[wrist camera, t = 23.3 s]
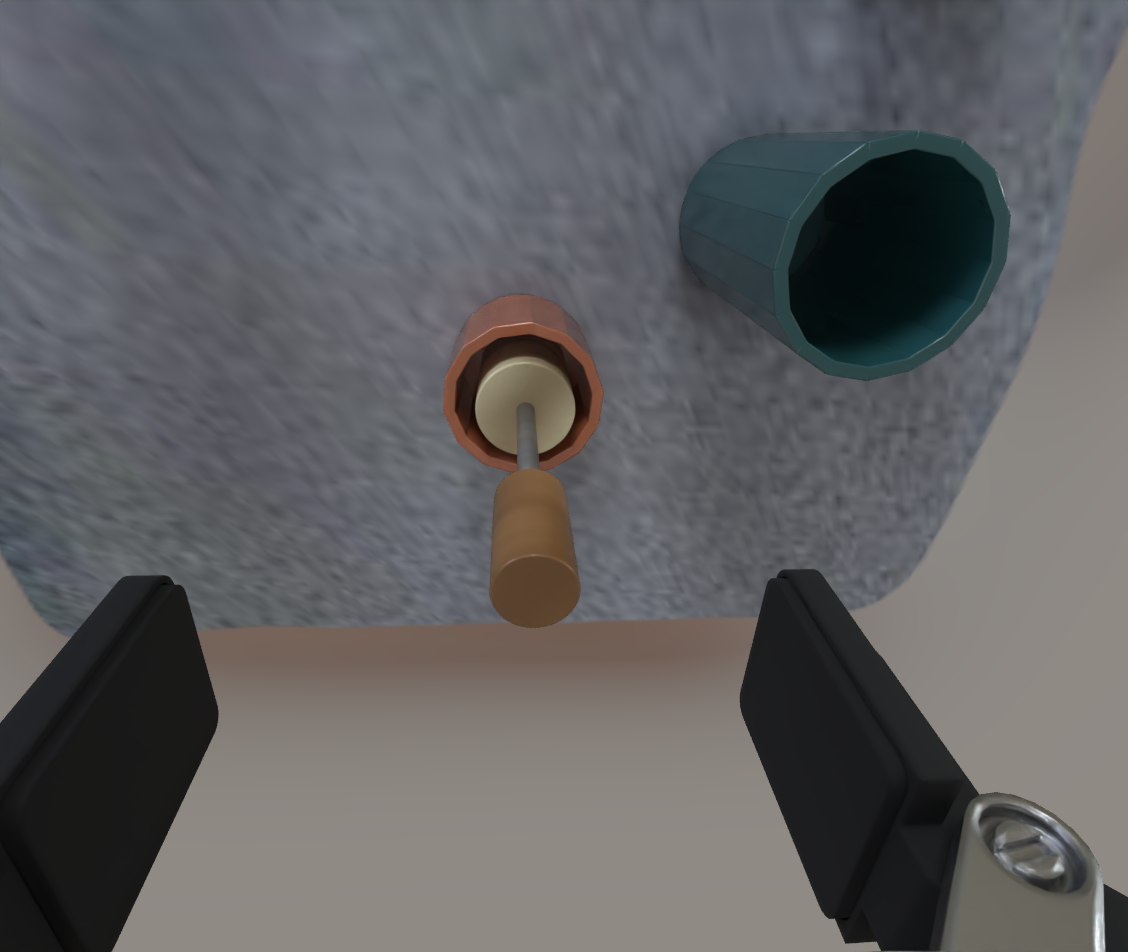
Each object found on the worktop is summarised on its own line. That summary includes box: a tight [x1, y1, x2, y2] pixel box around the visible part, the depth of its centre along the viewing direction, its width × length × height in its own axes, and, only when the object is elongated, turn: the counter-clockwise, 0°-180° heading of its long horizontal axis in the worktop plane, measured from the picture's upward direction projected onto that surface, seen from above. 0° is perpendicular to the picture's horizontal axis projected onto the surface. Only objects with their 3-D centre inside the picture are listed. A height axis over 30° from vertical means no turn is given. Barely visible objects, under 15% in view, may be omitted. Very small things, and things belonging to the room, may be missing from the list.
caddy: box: [444, 294, 604, 473], centre depth 32 cm, size 7×7×6 cm
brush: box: [475, 334, 580, 628], centre depth 26 cm, size 4×4×19 cm
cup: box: [679, 130, 1011, 381], centre depth 26 cm, size 7×7×13 cm
